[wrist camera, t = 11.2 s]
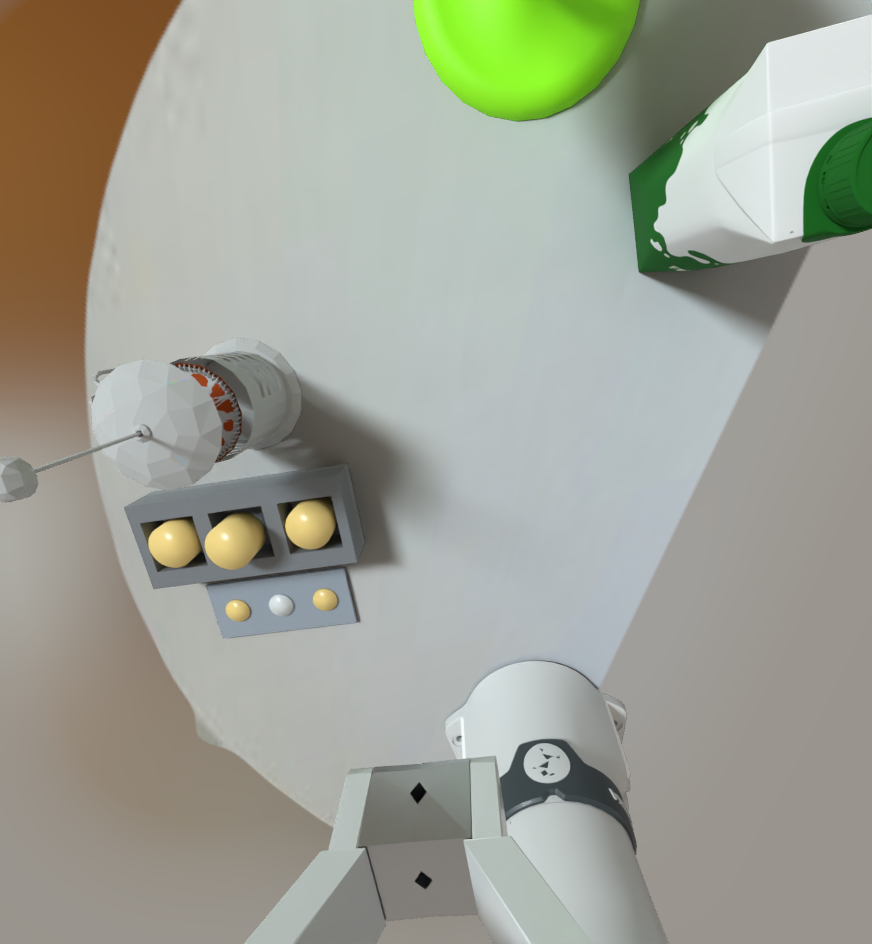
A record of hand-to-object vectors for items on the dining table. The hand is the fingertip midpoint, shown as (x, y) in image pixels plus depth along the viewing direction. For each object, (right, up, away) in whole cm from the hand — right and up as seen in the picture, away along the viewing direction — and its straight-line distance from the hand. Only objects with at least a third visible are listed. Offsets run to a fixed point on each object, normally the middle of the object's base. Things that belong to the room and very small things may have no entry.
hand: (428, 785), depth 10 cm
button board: (-16, -2, +38) cm, 41 cm away
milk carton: (+19, +26, +28) cm, 43 cm away
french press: (-17, +13, +34) cm, 40 cm away
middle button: (-17, +1, +33) cm, 37 cm away
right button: (-11, +2, +35) cm, 36 cm away
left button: (-23, +1, +36) cm, 42 cm away
